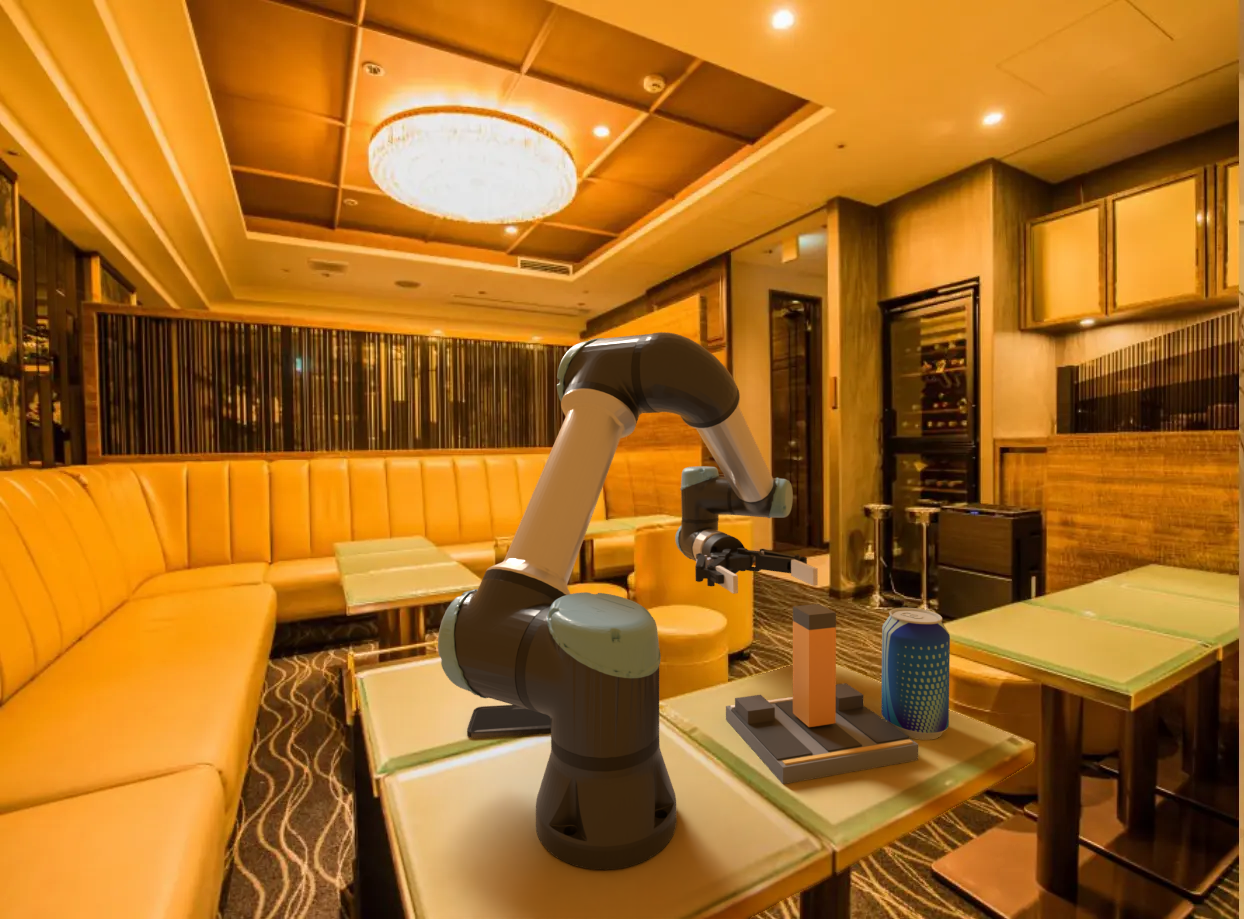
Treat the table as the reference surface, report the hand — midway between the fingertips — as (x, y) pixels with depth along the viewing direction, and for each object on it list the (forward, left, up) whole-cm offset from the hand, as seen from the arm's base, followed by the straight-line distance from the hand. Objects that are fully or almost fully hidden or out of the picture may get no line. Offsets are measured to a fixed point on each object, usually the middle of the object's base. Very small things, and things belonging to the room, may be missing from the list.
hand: (776, 580), depth 89 cm
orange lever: (-1, -11, -16) cm, 20 cm away
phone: (-39, +4, -19) cm, 43 cm away
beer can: (+14, -12, -19) cm, 27 cm away
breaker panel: (-1, -11, -19) cm, 22 cm away
